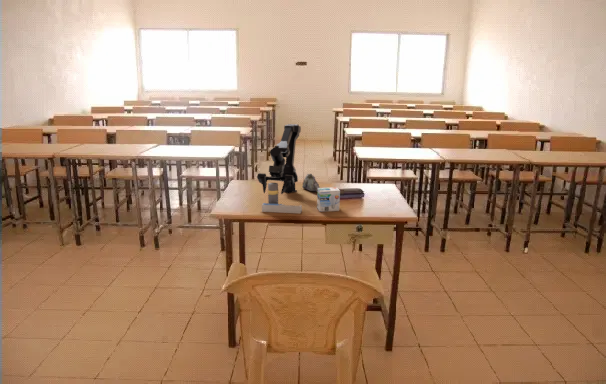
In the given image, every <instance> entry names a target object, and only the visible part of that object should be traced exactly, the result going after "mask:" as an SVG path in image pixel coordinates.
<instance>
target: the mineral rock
mask: <svg viewBox="0 0 606 384" xmlns="http://www.w3.org/2000/svg"><path fill="white" fill-rule="evenodd" d="M301 187H302V189H304V190H307V191H310V192H317V189H318V188H321V187H320V185H319V183H318V181H317V180H316V177H315V175H314V174H312V173H306V176H305V177H304V179H303V182H302V186H301Z"/></svg>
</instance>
